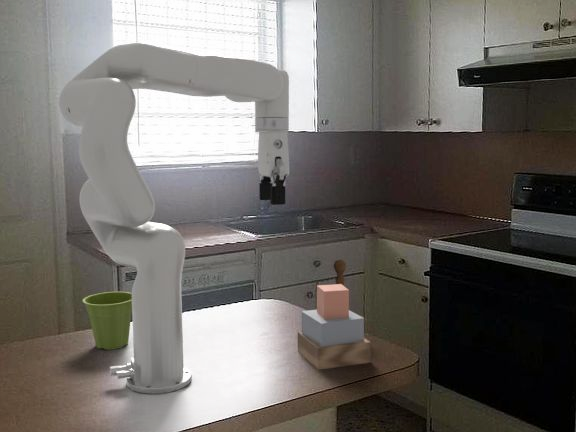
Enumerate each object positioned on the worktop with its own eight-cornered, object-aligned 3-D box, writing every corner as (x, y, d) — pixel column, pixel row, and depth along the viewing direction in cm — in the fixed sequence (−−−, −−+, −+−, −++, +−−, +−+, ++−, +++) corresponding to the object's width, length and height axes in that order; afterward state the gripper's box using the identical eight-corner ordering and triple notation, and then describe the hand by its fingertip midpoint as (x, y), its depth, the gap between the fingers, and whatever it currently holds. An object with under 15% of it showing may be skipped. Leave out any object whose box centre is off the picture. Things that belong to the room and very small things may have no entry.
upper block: (321, 347, 137) (321, 323, 137) (301, 333, 146) (301, 311, 146) (363, 340, 141) (364, 318, 140) (341, 327, 150) (342, 306, 150)
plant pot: (120, 333, 161) (118, 288, 159) (147, 345, 153) (146, 297, 151) (75, 345, 153) (72, 297, 151) (101, 357, 144) (99, 307, 143)
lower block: (318, 371, 137) (318, 348, 136) (297, 353, 148) (297, 331, 148) (370, 364, 141) (370, 341, 140) (346, 346, 152) (346, 325, 152)
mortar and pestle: (358, 332, 161) (359, 260, 159) (342, 338, 156) (342, 264, 154) (337, 326, 166) (337, 256, 163) (320, 332, 161) (320, 260, 158)
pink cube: (323, 319, 140) (324, 291, 139) (316, 312, 145) (317, 285, 144) (348, 317, 141) (349, 290, 140) (340, 310, 146) (341, 283, 145)
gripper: (299, 126, 141) (299, 205, 143) (277, 126, 157) (277, 197, 159) (265, 125, 139) (266, 207, 141) (246, 126, 155) (246, 198, 157)
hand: (272, 202), depth 150 cm, fingers open, 9 cm apart
